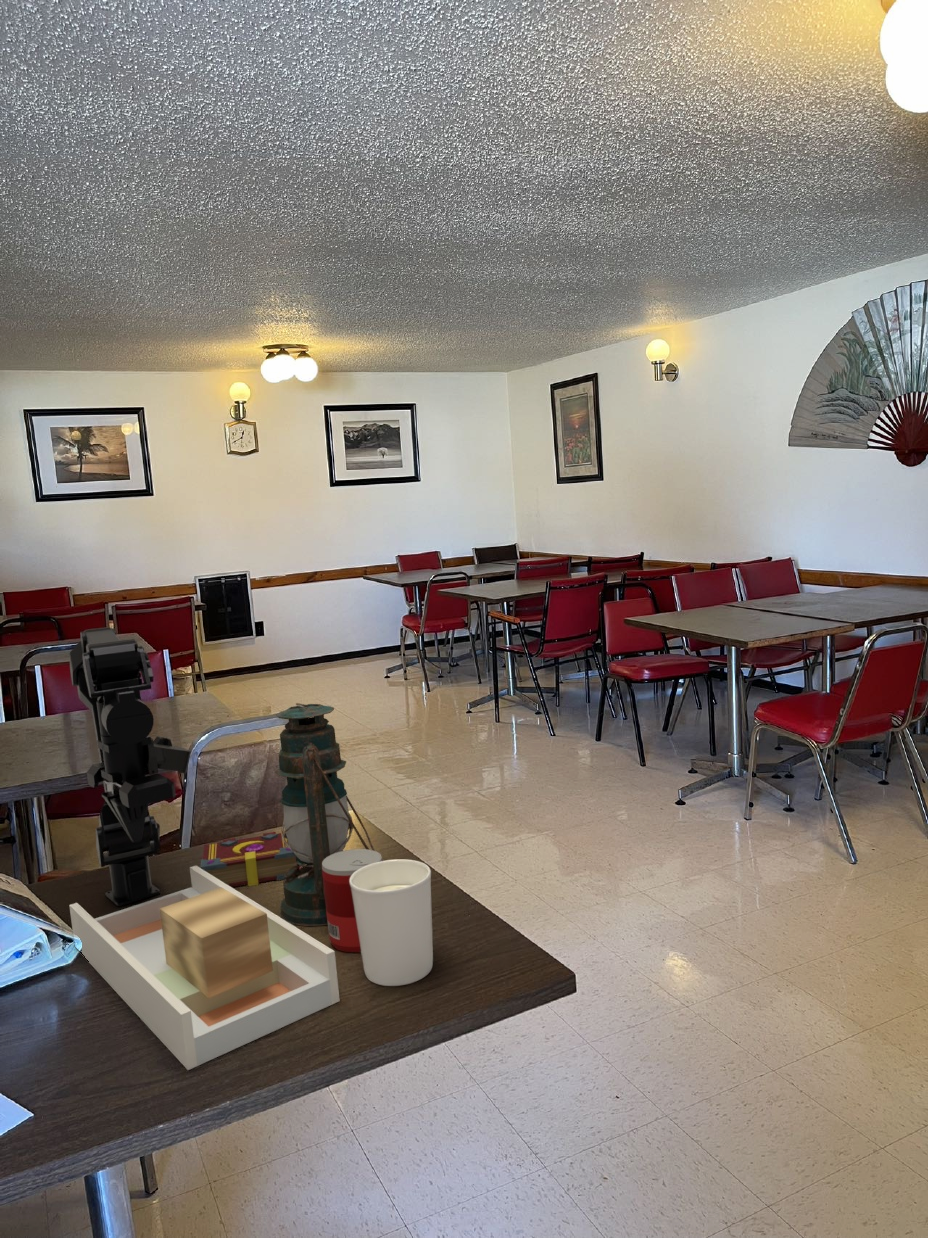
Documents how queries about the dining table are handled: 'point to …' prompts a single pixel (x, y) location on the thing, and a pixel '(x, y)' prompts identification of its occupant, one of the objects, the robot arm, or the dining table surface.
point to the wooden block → (216, 941)
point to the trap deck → (179, 1010)
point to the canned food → (343, 895)
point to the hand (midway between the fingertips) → (136, 841)
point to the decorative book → (249, 859)
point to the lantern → (311, 809)
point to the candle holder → (394, 920)
